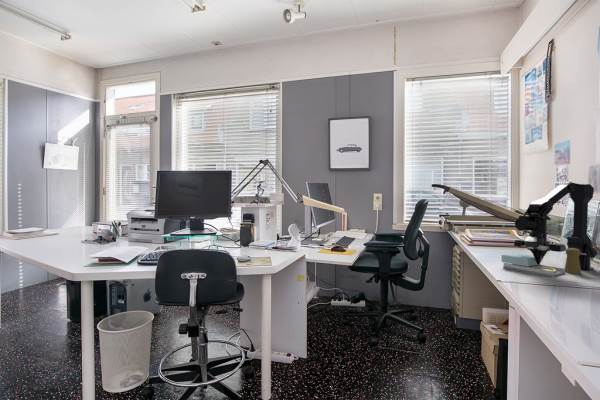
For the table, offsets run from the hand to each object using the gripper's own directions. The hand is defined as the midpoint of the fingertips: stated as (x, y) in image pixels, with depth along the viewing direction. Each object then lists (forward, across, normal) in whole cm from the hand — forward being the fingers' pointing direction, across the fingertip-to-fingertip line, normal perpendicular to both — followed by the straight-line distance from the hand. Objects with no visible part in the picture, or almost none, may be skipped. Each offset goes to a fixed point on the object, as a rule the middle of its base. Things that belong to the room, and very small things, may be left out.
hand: (538, 264), depth 150 cm
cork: (+4, +9, +11) cm, 15 cm away
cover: (+1, -8, 0) cm, 8 cm away
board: (+4, -2, 0) cm, 4 cm away
